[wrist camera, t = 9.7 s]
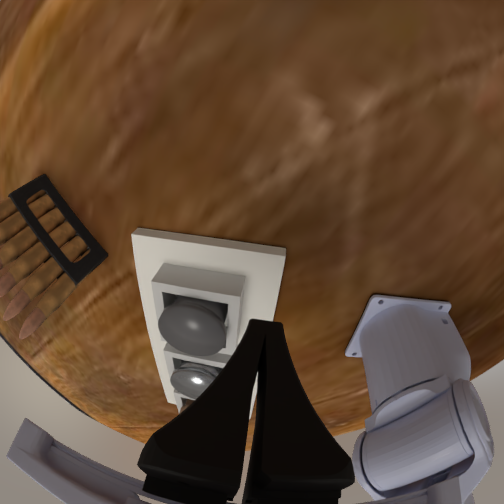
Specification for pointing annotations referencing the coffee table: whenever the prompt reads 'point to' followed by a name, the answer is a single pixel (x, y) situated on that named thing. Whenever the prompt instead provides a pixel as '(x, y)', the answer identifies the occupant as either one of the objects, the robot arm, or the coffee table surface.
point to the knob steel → (193, 378)
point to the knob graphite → (194, 325)
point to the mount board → (204, 289)
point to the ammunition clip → (43, 250)
